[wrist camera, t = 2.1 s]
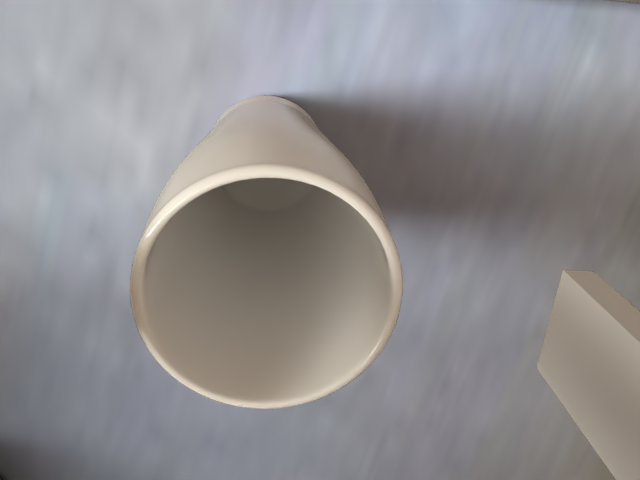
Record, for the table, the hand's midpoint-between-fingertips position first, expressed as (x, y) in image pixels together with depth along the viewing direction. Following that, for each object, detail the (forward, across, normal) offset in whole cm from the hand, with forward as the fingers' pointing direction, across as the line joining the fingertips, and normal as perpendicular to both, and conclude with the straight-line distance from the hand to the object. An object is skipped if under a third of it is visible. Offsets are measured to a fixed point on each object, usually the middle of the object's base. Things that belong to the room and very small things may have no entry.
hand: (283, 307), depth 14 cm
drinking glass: (+16, 0, 0) cm, 16 cm away
